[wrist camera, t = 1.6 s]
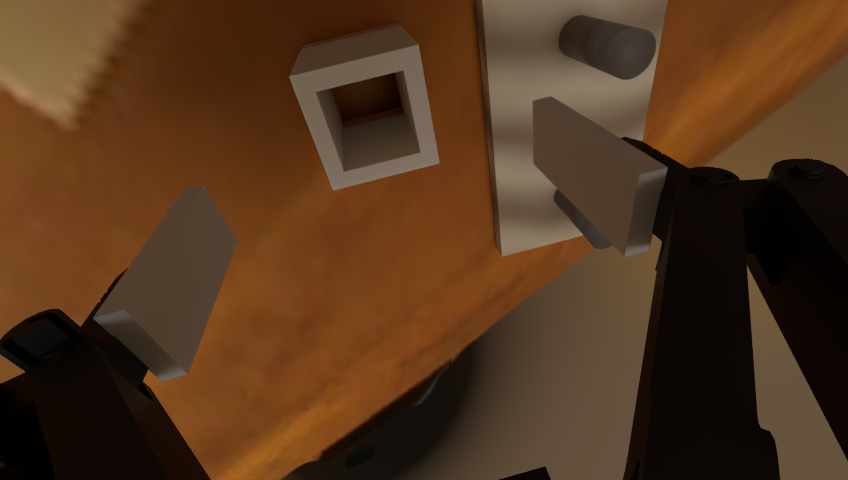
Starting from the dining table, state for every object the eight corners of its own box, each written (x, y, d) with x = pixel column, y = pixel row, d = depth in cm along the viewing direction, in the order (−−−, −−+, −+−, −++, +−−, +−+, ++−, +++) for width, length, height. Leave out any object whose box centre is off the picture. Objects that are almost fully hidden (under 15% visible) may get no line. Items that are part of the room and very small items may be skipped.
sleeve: (302, 44, 23) (288, 76, 17) (397, 21, 23) (418, 44, 17) (334, 136, 27) (333, 190, 21) (416, 115, 27) (439, 163, 21)
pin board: (472, -37, 22) (519, -35, 16) (665, -83, 23) (780, -98, 17) (496, 246, 36) (527, 303, 30) (617, 215, 36) (672, 265, 30)
